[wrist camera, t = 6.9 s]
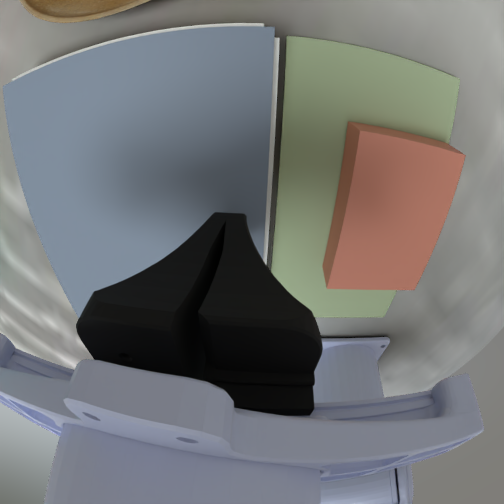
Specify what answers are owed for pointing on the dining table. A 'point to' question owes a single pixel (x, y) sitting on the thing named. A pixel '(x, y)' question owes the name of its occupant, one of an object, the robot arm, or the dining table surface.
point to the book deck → (145, 146)
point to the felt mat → (341, 152)
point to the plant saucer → (77, 9)
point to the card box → (388, 208)
